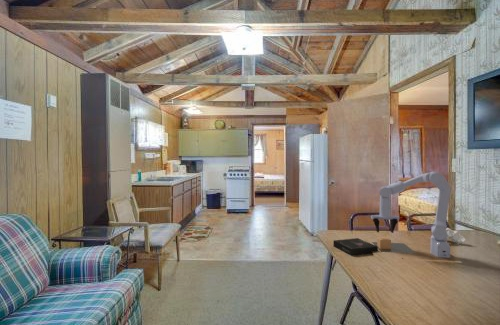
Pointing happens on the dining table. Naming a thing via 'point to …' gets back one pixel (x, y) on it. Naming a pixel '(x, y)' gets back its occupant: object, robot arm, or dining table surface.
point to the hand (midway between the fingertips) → (384, 232)
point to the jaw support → (455, 236)
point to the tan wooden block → (383, 242)
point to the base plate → (396, 248)
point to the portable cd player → (355, 246)
